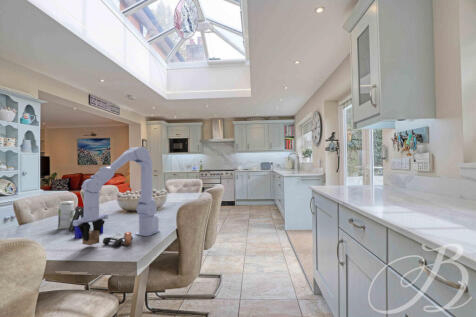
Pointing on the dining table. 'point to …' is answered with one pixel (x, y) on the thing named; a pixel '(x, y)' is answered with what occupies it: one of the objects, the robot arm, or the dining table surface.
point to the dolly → (117, 240)
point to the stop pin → (127, 239)
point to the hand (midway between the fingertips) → (91, 239)
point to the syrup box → (65, 214)
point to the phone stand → (76, 217)
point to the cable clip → (79, 234)
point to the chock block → (92, 237)
